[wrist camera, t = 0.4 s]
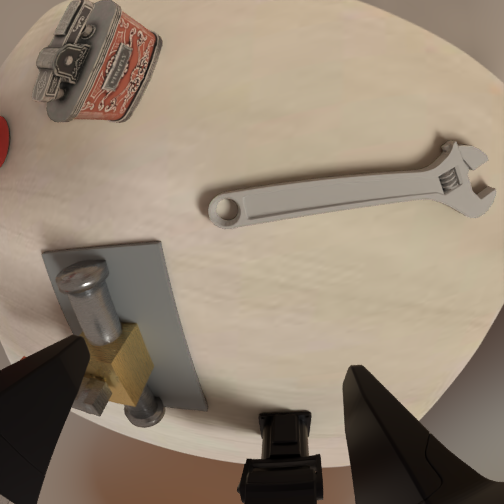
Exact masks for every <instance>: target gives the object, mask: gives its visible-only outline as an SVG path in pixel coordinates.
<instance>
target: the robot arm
mask: <svg viewBox="0 0 504 504" xmlns="http://www.w3.org/2000/svg"><path fill="white" fill-rule="evenodd" d="M89 361H90V352H89V349H88V347H87V344H86V342H85V339H84V338H83V337H82V336H79V335H71V336H69V337H67V338H65V339H63V340H61V341H59V342H57V343H55V344H53V345H51V346H49V347H46V348H44V349H42V350H40V351H38V352H36V353H34V354H32V355H30V356H28V357H26V358H24V359H22V360H20V361H18V362H16V363H14V364H12V365H10V366H8V367H6V368H4V369H2V370H0V504H9V501H11V502H13V503H14V504H37V501H38V498H39V494H40V491H41V487H42V484H43V481H44V478H45V474H46V471H47V469H48V466H49V463H50V460H51V457H52V454H53V452H54V449H55V446H56V443H57V441H58V438H59V436H60V433H61V431H62V429H63V426H64V424H65V421H66V419H67V417H68V414H69V412H70V410H71V407H72V405H73V403H74V401H75V398H76V396H77V394H78V391H79V389H80V386H81V383H82V380H83V377H84V374H85V372H86V369H87V366H88V363H89ZM343 404H344V423H345V433H346V440H347V446H348V452H349V458H350V465H351V472H352V479H353V486H354V494H355V503H356V504H504V482H496V481H492V480H489V479H487V478H485V477H483V476H482V475H480V474H479V473H477V472H476V471H475V470H474V469H472V468H471V467H470V466H468V465H467V464H466V463H464V462H463V461H462V460H460V459H459V458H458V457H457V456H455V455H454V454H453V453H452V452H451V451H449V450H448V449H447V448H446V447H445V446H444V445H443V444H442V443H441V442H440V441H438V440H437V439H436V438H435V437H434V436H433V435H432V434H431V433H430V434H429V431H428V430H427V429H426V428H425V427H424V426H423V425H422V424H421V423H420V422H419V421H418V420H417V419H416V418H415V417H414V416H413V415H412V414H411V413H410V412H409V411H408V410H407V409H406V408H405V407H404V406H403V405H402V404H401V403H400V402H399V401H398V400H397V399H396V398H395V397H394V396H393V395H392V394H391V393H390V392H389V391H388V390H387V389H386V388H385V387H384V386H383V385H382V384H381V383H380V382H379V381H378V380H377V379H376V378H375V377H374V376H373V375H372V374H371V373H370V372H369V371H368V370H367V369H366V368H365V367H364V366H362V365H351V366H350V367H349V368H348V371H347V373H346V376H345V379H344V382H343ZM259 424H260V430H261V437H262V439H263V441H262V456H261V459H247V460H246V464H244V469H243V473H242V477H241V481H240V484H239V486H238V488H237V492H238V493H239V494H240V496H241V500H242V502H243V503H244V504H317V500H323V479H322V467H321V457H320V454H316V455H313V456H309V450H308V437H309V432H310V424H311V412H298V413H274V414H260V415H259ZM315 471H316V473H315Z"/></svg>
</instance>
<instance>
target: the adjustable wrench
mask: <svg viewBox="0 0 504 504" xmlns="http://www.w3.org/2000/svg"><path fill="white" fill-rule="evenodd" d="M441 147H442V150H443V152H442V153H441V155H440V156H439V157H438V158H437V159H436V160H435V161H434V162H433V163H432V164H430V165H429V166H427V167H425V168H422V169H418V170H410V171H393V172H379V173H366V174H354V175H344V176H334V177H325V178H316V179H308V180H300V181H292V182H285V183H277V184H270V185H264V186H257V187H251V188H244V189H238V190H232V191H227V192H223V193H220V194H218V195H217V196H216V197H215V198H214V199H213V200H212V201H211V203H210V204H209V208H208V215H209V218H210V220H211V221H212V222H213V224H214V225H216V226H217V227H219V228H222V229H232V228H238V227H244V226H249V225H255V224H261V223H267V222H273V221H279V220H285V219H291V218H297V217H303V216H309V215H316V214H322V213H329V212H335V211H342V210H349V209H355V208H362V207H369V206H376V205H384V204H391V203H399V202H406V201H414V200H422V199H430V200H434V201H438V202H441V203H443V204H446V205H448V206H450V207H451V208H453V209H454V210H456V211H458V212H459V213H461V214H463V215H465V216H467V217H470V218H478V217H480V216H482V215H483V214H485V213H486V212H487V211H488V210H489V208H490V207H491V205H492V204H493V202H494V199H495V196H496V189H495V188H492V187H489V186H487V187H486V188H485V189H483V190H482V191H480V192H479V193H478V194H475V193H474V192H473V191H472V187H471V183H470V180H469V177H468V170H469V169H470V170H475V169H476V168H478V167H479V166H481V165H482V164H484V163H485V162H487V161H488V157H487V155H486V154H485V153H484V152H483V151H481V150H480V149H478V148H476V147H474V146H469V145H459V144H458V145H457V142H456V141H449V140H448V141H447V142H446V144H444V145H442V146H441ZM439 179H440V180H439ZM442 188H443V189H442ZM223 199H231V200H233V201H234V202H235V203H236V204H237V206H238V214H237V216H236V217H235V218H234V219H232V220H224V219H222V218H220V217H219V215H218V214H217V210H216V208H217V205H218V203H219V202H220V201H221V200H223Z"/></svg>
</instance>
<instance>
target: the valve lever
mask: <svg viewBox="0 0 504 504" xmlns="http://www.w3.org/2000/svg"><path fill="white" fill-rule="evenodd" d="M24 358H26V357H25V356H24V357H23V358H22V359H24ZM22 359H21V360H22ZM111 395H112V391H111V390H110V388H109V387H108V385H107V383H106V382H104V381H99V380H98V379H96V378H86V377H83V380H82V383H81V386H80V389H79V391H78V394H77V396H76V398H75V401H74V403H73V405H72V408H75V409H78V410H81V411H84V412H86V413H89V414H94V415H97V416H101V414H102V412H103V410H104V408H105V406H106V405H107V403H108V401H109V399H110V397H111Z"/></svg>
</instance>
